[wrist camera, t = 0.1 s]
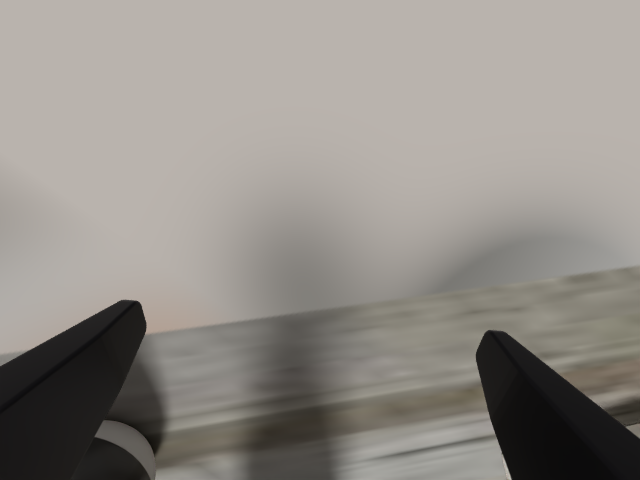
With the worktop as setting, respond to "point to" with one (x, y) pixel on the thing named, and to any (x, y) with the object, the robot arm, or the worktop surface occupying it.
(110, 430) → the black egg-shaped dome
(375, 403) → the worktop surface
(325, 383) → the worktop surface
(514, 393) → the robot arm
